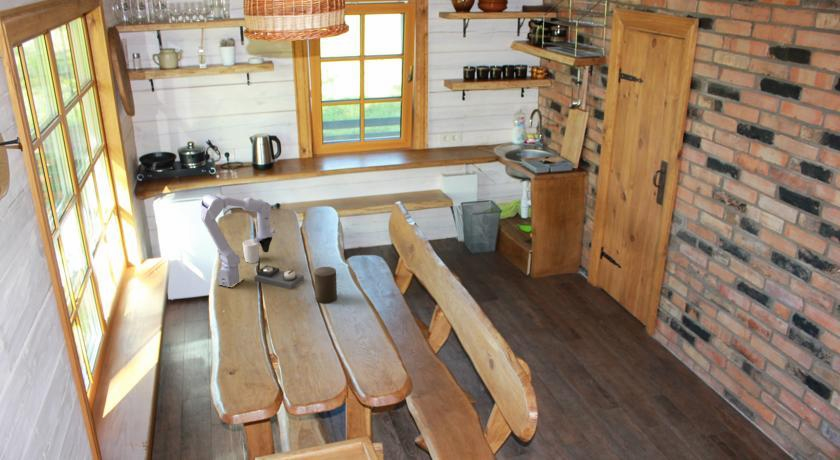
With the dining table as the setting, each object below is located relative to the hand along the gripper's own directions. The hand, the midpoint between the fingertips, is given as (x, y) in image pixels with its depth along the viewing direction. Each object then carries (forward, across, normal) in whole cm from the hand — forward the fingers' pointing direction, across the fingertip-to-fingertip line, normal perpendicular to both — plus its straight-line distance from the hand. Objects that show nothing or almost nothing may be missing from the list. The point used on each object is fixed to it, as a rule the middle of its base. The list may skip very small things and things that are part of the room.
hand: (265, 251), depth 338 cm
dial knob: (+7, -6, -17) cm, 19 cm away
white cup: (+11, +7, +14) cm, 19 cm away
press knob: (+7, -6, -5) cm, 11 cm away
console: (+10, -6, -11) cm, 16 cm away
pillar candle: (+11, -12, -40) cm, 43 cm away
